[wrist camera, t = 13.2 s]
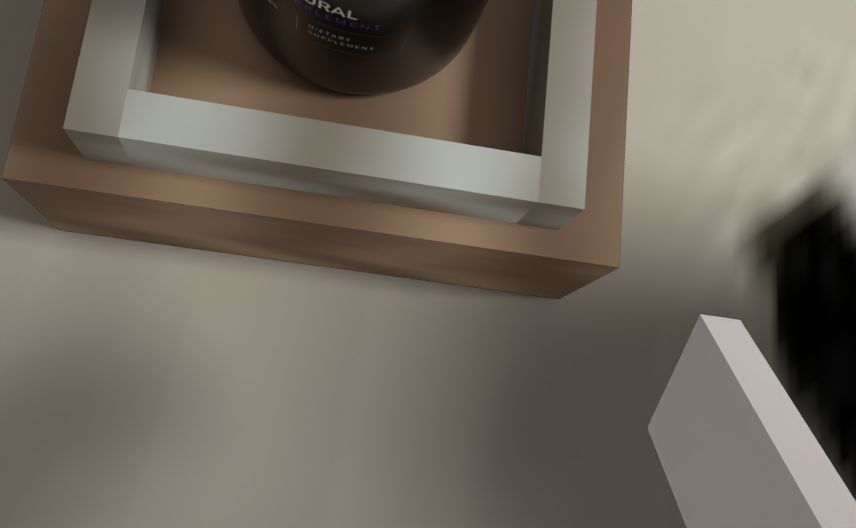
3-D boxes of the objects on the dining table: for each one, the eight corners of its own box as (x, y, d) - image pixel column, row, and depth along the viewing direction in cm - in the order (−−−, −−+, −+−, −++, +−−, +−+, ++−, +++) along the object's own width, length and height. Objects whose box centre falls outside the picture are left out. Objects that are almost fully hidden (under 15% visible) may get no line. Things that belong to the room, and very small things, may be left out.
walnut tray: (583, -66, 30) (669, -214, 23) (559, 298, 26) (651, 250, 20) (144, -156, 27) (97, -349, 21) (59, 230, 24) (-30, 148, 17)
